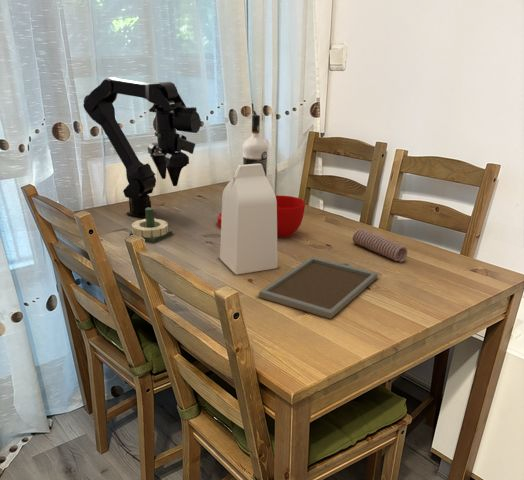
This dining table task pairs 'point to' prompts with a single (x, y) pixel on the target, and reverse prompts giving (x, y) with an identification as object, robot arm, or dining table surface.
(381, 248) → the coil
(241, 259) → the milk
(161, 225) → the ring
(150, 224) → the peg stand
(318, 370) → the dining table surface
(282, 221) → the ceramic cup
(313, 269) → the grey picture frame
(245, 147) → the vodka
